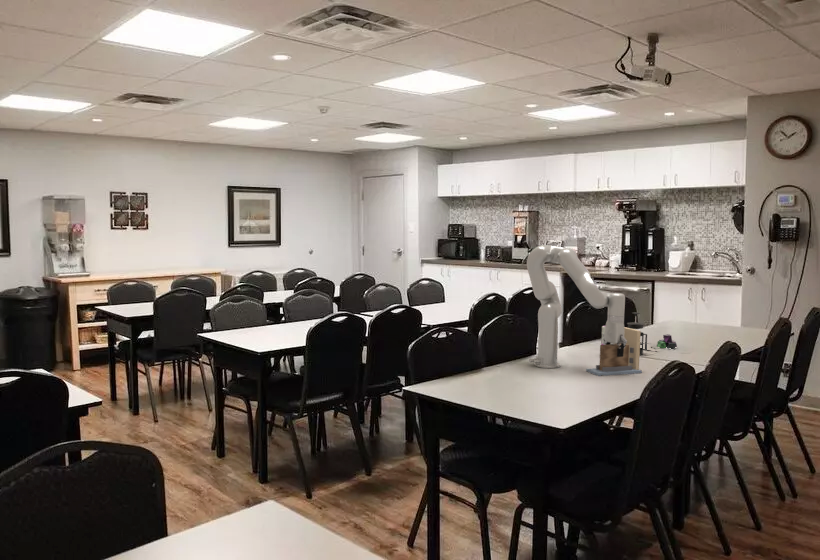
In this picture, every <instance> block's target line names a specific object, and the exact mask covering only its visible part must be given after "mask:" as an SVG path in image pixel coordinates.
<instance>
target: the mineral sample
mask: <svg viewBox="0 0 820 560" xmlns="http://www.w3.org/2000/svg"><path fill="white" fill-rule="evenodd" d="M657 347H661V348H660V349H664V348H666V347H667V348H671V349H674V350H675V349H676V348H675V347H677V348H678V345H677V342H676V341H675V339H674V340H673V337H672V335H671V334H669V333H668V334H663V339H659V340H658V341H657ZM671 349H670V350H671Z"/></svg>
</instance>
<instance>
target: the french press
mask: <svg viewBox="0 0 820 560" xmlns="http://www.w3.org/2000/svg"><path fill="white" fill-rule="evenodd" d="M631 313H632V314H634V317H635V318H634V319H635V321H634V322H627V323H626V324H627V328H631V329H635V330H641V329H644V326H645V324H644V323H641V322H637V316H638V315H641V313H640V312H635V311H634V312H631ZM644 336H645V337H644ZM640 337H641V341H640V345H642V348H640V357H641V356H644V351H647V344H648V343H647V342H648V334H647V333H644V332H642V331H641V333H640ZM644 338H645V343H643V342H644ZM643 344H645V349H643Z"/></svg>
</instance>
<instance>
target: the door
mask: <svg viewBox="0 0 820 560" xmlns="http://www.w3.org/2000/svg"><path fill="white" fill-rule="evenodd" d="M599 345H600V346H599V365H600V367H599V370H601V371H602V367H617V366H628V360H629V345H628V344H626V346H625V348H624V354H623V357H617V348H618V346H617V344H610V345H601V344H599ZM620 345H621V344H620Z"/></svg>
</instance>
